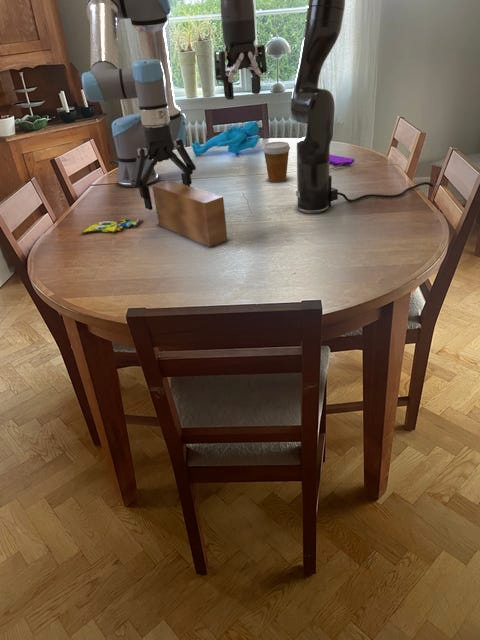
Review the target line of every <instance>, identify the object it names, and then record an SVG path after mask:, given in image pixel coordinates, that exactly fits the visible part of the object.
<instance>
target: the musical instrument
mask: <svg viewBox="0 0 480 640" xmlns="http://www.w3.org/2000/svg"><path fill="white" fill-rule="evenodd" d="M354 162H355V158H351V157H346V156H340V155H336V154H330V155H329V164H332V165H335V166H334V167H329V171H330V170H333V169H336V168H338V167H341V166H352V164H353V163H354Z"/></svg>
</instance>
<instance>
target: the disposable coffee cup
mask: <svg viewBox="0 0 480 640" xmlns="http://www.w3.org/2000/svg"><path fill="white" fill-rule="evenodd" d="M290 149H291V146H290V144H289V142H286V141H272V142H266V143H265V144H263V148H262V151H263V153H264V159H265V165H266V171H267V178H268V182H272V183H273V182H274V183H278V182H279V183H280V182H283V181H286V180H287V174H288V165H289V155H290V154H289V153H290Z"/></svg>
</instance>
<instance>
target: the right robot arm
mask: <svg viewBox="0 0 480 640" xmlns="http://www.w3.org/2000/svg"><path fill="white" fill-rule="evenodd" d="M345 7H346V0H308V3H307V9H306V16H305V25H304V34H303V39H302V45H301V51H300V58H299V64H298V69H297V73H296V78H295V82H294V85H293V91H292V95H291V99H290V114H291V117H292V119H293V121H294V122H296V123H298V124H302V125H306V134H305V136H304V137H301V138H299V139H298V140H297V142H296V174H297V175H296V178H297V179H296V182H297V183H296V184H297V186H296V188H297V189H296V190H295V196H296V197H297V201H296V202H297V206H296V209H297V211H298V212H300V213H302V214H308V215H309V214H310V215H311V214H313V215H314V214H320V213H324V212H326V211H328V210H329V209H330V208H332V202H334V201H337V200H339V199H338V198H339V196H341V197H343V199H344V200H345V201H346V202H349V203H353V202H357V201H359V200H362V199H364V198H372V197H373V198H387V199H388V198H391V199H392V198H398V197H402V196H403V195H405V193H406V192H408V191H411V190H414V189H416V188H418V187H421V186H424V185H426V186H427V185H428V186H430V187H432V188H434V184H433V183H431V182H428V181H423V182H419V183H418V184H414V185H413V186H409V187H407V188H406V189H404V190H403V191H402V192H400V193H397V194H380V193H379V194H378V193H368V194H363V195H361V196H358V197H357V198H354V199H351V198H348V196H347V195H346V194H344V193H343V192H339V189H338V188H334V187H332V184H333V183H332V181H333V178H332V175H331V174H330V170H329V169H330V163H329V155H331V154H330V151H331V149H330V148H331V143H332V140H333V136H334V127H335V126H334V125H335V124H334V123H335V111H336V108H335V107H336V105H335V99H334V96H333V94H332V92H331V91H330V90H328V89H326V88H319V82H320V81H319V80H320V76H321V72H322V69H323V66H324V63H325V62H326V60H327V58H328V57H329V54H330V53H331V52H332V49H333V48H334V47H335V45H336V43H337V41H338V39H339V37H340V34H341V31H342V30H341V29H342V25H343V19H344V13H345ZM220 18H221V29H222V31H221V32H222V42H223V44H224V46H225V49H224V50H216V51H214V53H213V54H214V55H213V59H214V74H215V75H214V76H215V80H216V81H220V82H222V83H223V84H222V85H223V94H224V97H225V99H226V100H230V101H231V100H234V98H235V95H234V83H233V82H232V81H233V79H234V77H235V75H236V74H237V73H238V71H239V70H243V69H246V70H247V71H248V72H249V74H250V75H251V77H250V83H251V93H252V94H253V95H258V94H261V89H262V88H261V87H262V86H261V77H262V75H263V74H266V73H267V69H268V68H267V57H266V46H265V45H264V44H255V43H254V42H255V41H256V37H257V36H256V22H255V4H254V0H220Z"/></svg>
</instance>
